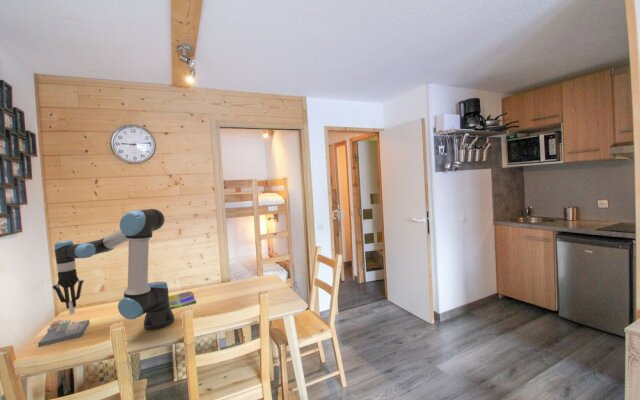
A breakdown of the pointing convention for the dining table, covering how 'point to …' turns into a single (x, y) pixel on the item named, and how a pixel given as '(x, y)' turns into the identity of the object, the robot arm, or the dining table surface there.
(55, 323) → the terracotta tile
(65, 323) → the sage tile
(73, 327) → the cream tile
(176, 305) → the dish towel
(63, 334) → the button board
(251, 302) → the dining table surface
